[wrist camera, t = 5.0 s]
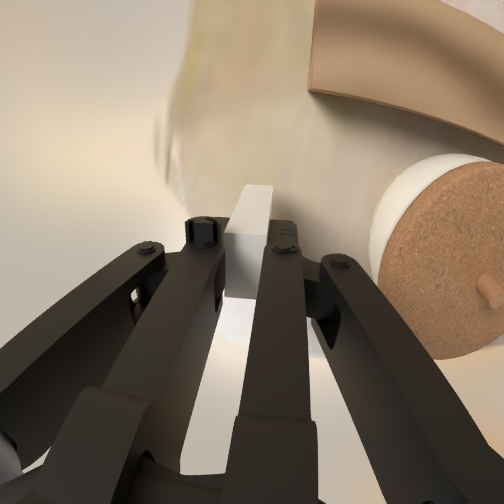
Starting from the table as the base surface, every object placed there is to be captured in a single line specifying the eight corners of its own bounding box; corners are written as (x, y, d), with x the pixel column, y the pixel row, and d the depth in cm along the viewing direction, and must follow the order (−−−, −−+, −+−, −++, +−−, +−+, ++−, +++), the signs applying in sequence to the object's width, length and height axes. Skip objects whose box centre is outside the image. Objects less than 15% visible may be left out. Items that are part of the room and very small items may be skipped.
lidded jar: (364, 121, 16) (438, 144, 8) (498, 159, 15) (591, 207, 7) (336, 279, 21) (358, 387, 13) (458, 289, 20) (511, 374, 12)
